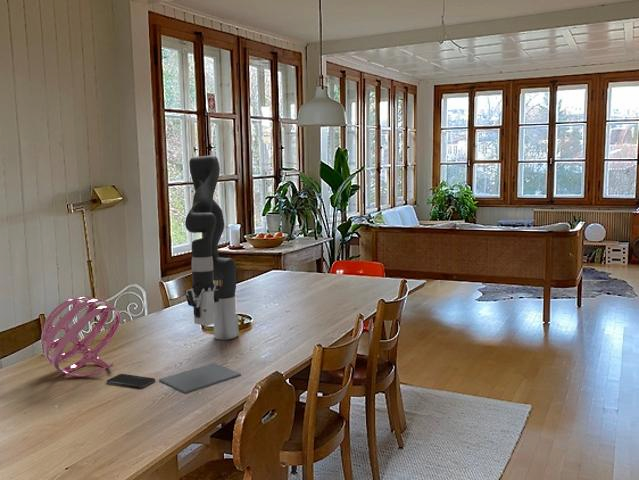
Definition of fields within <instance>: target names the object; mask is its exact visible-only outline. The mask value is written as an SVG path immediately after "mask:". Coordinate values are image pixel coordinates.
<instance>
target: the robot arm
mask: <svg viewBox="0 0 639 480" xmlns="http://www.w3.org/2000/svg"><path fill="white" fill-rule="evenodd" d="M220 167H221V166H220V163H219V159H218V157H217V156H216V155H202V156H194V157H191V158H190V159H189V172H190V176H191V180H192V184H193V189H194V195H193V199H192V206H191V208H190V209H189V211H188V213H187V215H186V217H185V221H184V223H185V224H184V226H185V228H186V230H187V231H188V232H189V233H193V234H197V233H198V234H199V233H202V237H201V238H198V239H194V240H192V241H191V281H192V286H191V288H190V289H185V290H184V293H185V297H186V301H187V305H188V307H193V317H194V316H195V317H197V318H199V317H200V307H199V305H200V302H201V301H202V297H203V292H204V291H211V290H212V291H214V323H213V336H214V339H215V340H221V341H223V340H224V341H225V340H227V341H228V340H232V339H235V338H237V337H238V336H239V334H240V333H239V315H238V314H239V313H237V311H236V310H237V309H236V308H237V307H236V290H237V289H236V288H237V265H236V261H235V260H234V259H233V258H232V257H231V258H230V257H221V256H220V255H219V242H220V240H221V237H222V236H223V233H224V230H225V220H224V213H223V210H222V207H220V205H219V204H218V202H217V201H215V200H214V195H215V191H216V188H217V184H218V181H219V177H220V172H221V171H220V169H221V168H220ZM203 181H204V182H203ZM214 280H216V281H221V285H218V284H214ZM194 293H195V295H194ZM196 296H197V297H199V298H197V297H196Z"/></svg>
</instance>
